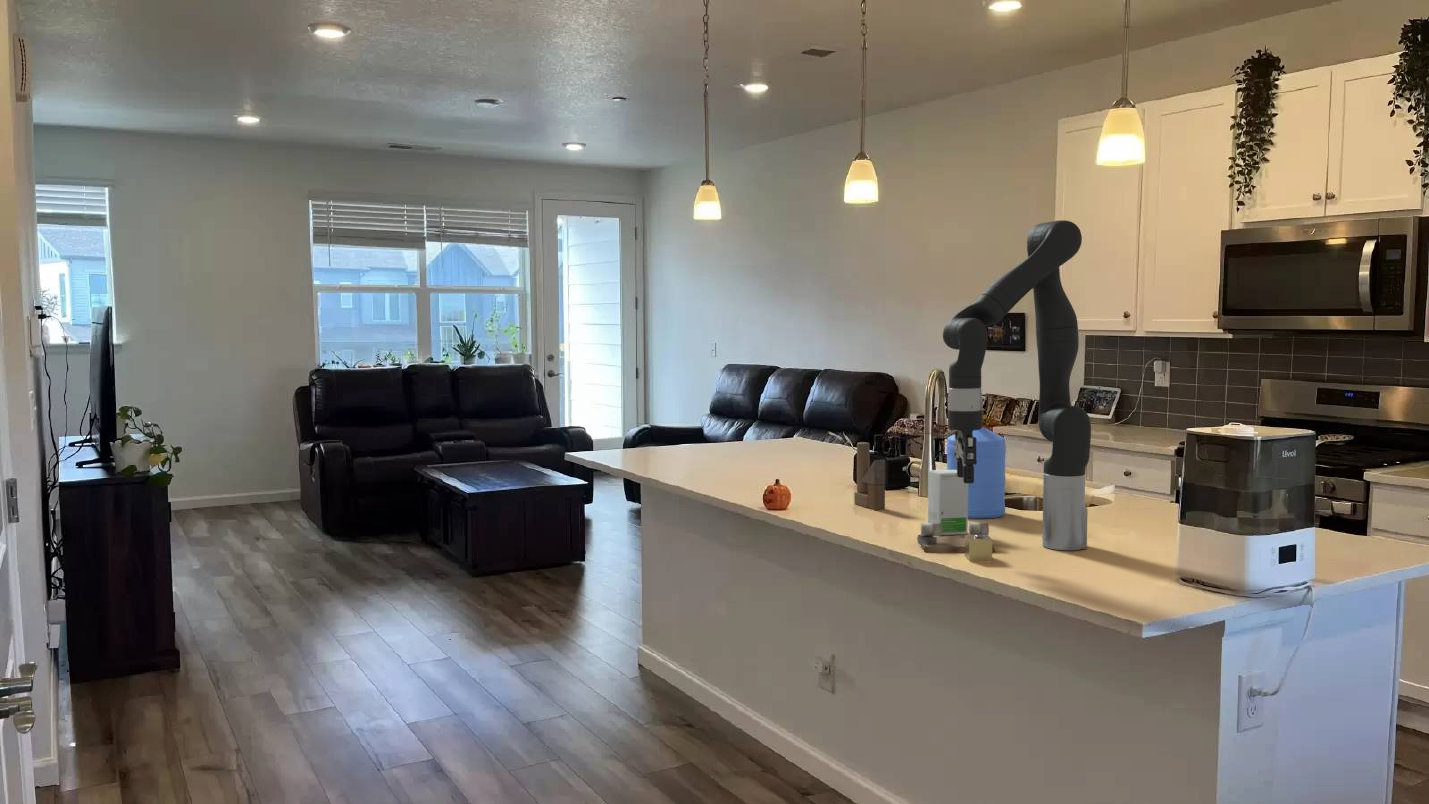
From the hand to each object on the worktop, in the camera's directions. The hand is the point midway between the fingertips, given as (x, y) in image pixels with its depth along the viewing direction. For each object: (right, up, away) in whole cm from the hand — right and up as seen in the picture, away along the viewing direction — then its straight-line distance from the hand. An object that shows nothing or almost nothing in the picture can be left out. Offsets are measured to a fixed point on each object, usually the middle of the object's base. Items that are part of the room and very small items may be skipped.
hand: (965, 480), depth 231 cm
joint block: (+3, -18, -1) cm, 18 cm away
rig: (0, -17, +12) cm, 20 cm away
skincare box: (+2, -15, +27) cm, 32 cm away
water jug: (+15, -13, +51) cm, 55 cm away
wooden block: (-12, -13, +63) cm, 65 cm away
